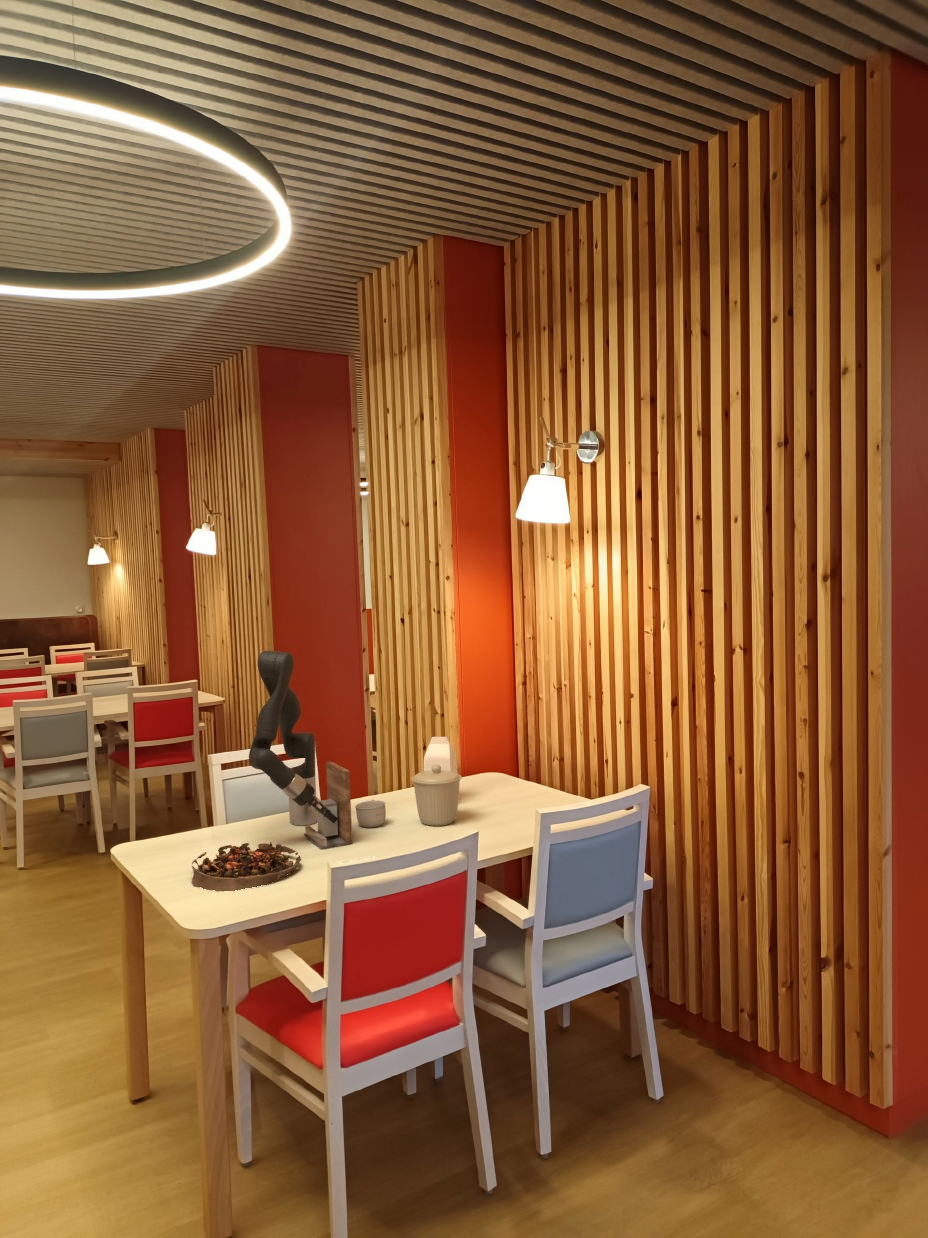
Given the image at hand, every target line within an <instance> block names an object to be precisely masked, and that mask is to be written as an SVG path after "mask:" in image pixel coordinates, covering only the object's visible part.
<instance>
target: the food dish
mask: <svg viewBox="0 0 928 1238" xmlns="http://www.w3.org/2000/svg"><path fill="white" fill-rule="evenodd" d="M249 845H250V842H246V843H245V842H244V843H242V844H241V845H240V846H237V845H232V844H229V845H223V846H220V847H219V848H218V849H217V851H218V854H216V853H215V857H216V858H214V859H213V860H211V859H210V858H209V857H205V858H203V857H204V856H206V855H207V854H208V852H206V851H205V852H203V853H201V854H200V855H198V856H197V858H195V859H194V860H192V862H191V868H192V871H193V876H192V880H191V882H190V883H191V885H192V887H194V888H200V887H201V889H202V888H203V890H204V889H206V890H205V891H213V890H215V891H214V892H224V891H233V892H236V891H235V890H237V891H242V890H241V889H243V890H246V889H245V888H251V889H253V888H252V887H256V888H258V887H257V886H261V885H266V886H268V885H269V883H270V884H273V883H272V882H274V883H277V882H278V881H279V880H278V879H280V878H281V879H284V878H286V877H287V876H288V875H287V874H289V873H291V874H293V872H294V870H295V869H296V868H297V867H298V866H299V865H300V863H301V860H302V858H301V855H298V854H299V852H298V851H297V850H294V849H293V848H290V847H287V846H285V845H284V846H283V844H281V843H277V844H275V846H274V845H273V842H272V841H270V842H269V843H262V842H261V843H258V845H257V846H258V848H256V849H255V850H251V847H249ZM227 849H229V850H228V852H227V851H225V850H227ZM284 853H287V855H286V854H284ZM294 853H295V856H297V855H298V856H297V857H296V858H295V862H294V861H293V860H290V859H289V858H290V856H289V854H290V855H291V854H294ZM201 858H203V860H202V863H200V864H199V863H198V861H197V860H199V859H201ZM194 863H195V864H196V865H197V868H196V867H194V865H193V864H194ZM286 875H287V876H286ZM289 875H290V874H289ZM285 876H286V877H285ZM283 877H284V878H283ZM281 879H280V880H281ZM277 880H278V881H277ZM276 881H277V882H276ZM267 884H268V885H267Z"/></svg>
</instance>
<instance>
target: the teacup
mask: <svg viewBox="0 0 928 1238" xmlns="http://www.w3.org/2000/svg"><path fill="white" fill-rule="evenodd" d="M354 807H355V813H356V819H357V823H358V824H359V825H361V826H362V827H364V828H376V827H379V826H381V825H382V824H383V823H384V822H385V821H386V817H387V811H386V810H387V809H386V802H385V801H384V800H378V799H371V800H366V801H361V802H358V803H357V804H356V805H355V806H354Z"/></svg>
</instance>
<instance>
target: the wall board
mask: <svg viewBox="0 0 928 1238" xmlns="http://www.w3.org/2000/svg"><path fill="white" fill-rule="evenodd" d="M325 769H326V793H327V795H326V796H327V797H326V798H327V799H326V800H328V799H332V800H333V801H335V802H336V803H337V824H338V835H332V836H326V837H324V836H322V835H321V834H320V833H318V830H316V829H314V827H311V826H310V825H304V829H305V830H304V833H303V837H304V838H305V839H307V840H308V841H310V842H311V844H313V845H315V846H316V847H317V848H318V849H319V850H321V851H322V850H328V849H333V848H338V847H344V846H350V845H353V834H352V833H353V831H352V829H353V828H352V827H353V826H352V807H351V806H352V805H351V804H352V803H351V801H352V799H351V779H350V778H351V777H350V776H351V774H350V770H349V769H346V768H344V767H342V766H341V765H339V764H338V763H335V762H333V761H327V762H325Z"/></svg>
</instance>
